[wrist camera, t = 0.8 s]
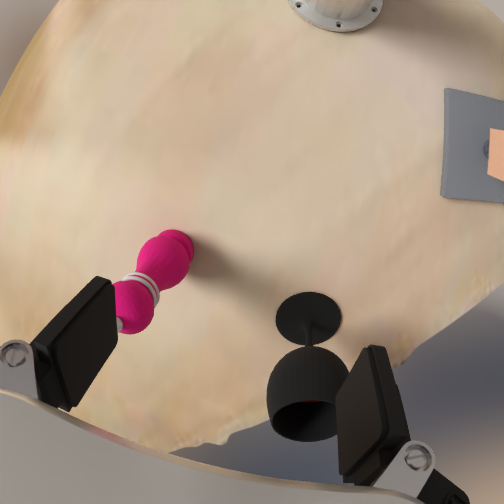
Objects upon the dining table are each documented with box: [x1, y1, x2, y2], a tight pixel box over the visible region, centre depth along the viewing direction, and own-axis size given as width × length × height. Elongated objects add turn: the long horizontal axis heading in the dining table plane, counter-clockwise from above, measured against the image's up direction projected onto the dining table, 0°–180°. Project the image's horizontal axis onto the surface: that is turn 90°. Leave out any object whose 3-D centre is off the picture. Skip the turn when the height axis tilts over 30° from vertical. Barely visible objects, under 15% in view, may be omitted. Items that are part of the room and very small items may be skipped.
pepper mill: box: [112, 230, 194, 334], centre depth 38 cm, size 7×7×20 cm
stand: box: [440, 88, 504, 203], centre depth 34 cm, size 15×15×2 cm
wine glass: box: [267, 292, 349, 442], centre depth 40 cm, size 10×10×20 cm
